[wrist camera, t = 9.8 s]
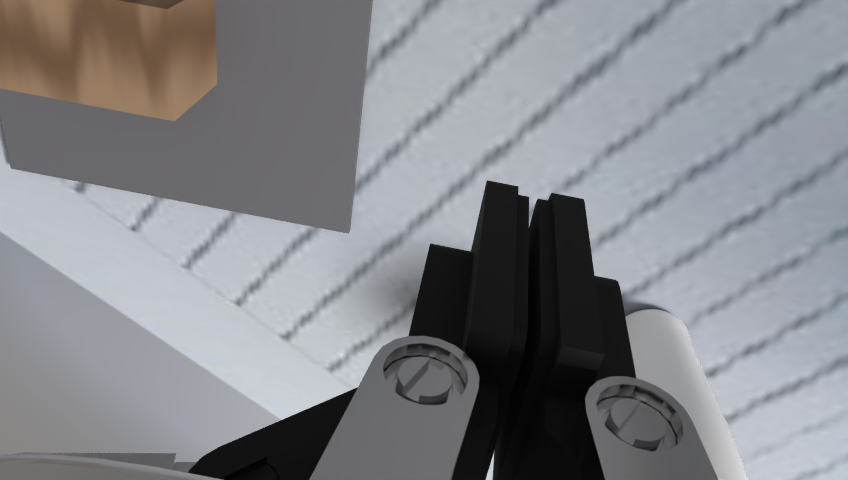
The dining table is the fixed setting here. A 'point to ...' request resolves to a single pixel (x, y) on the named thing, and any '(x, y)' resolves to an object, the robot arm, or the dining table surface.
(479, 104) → the dining table surface
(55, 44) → the wooden box
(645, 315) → the drinking glass
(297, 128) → the rubber mat
